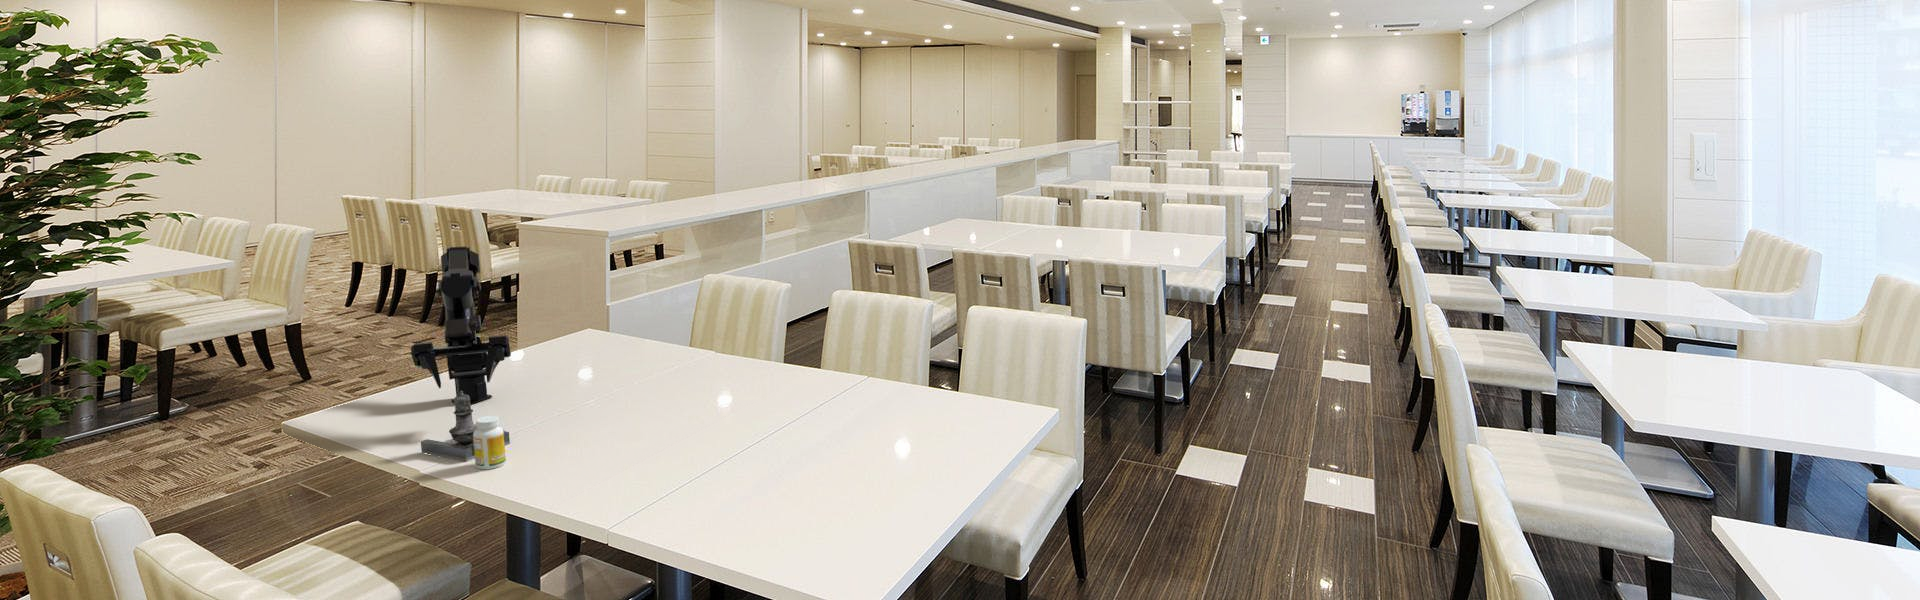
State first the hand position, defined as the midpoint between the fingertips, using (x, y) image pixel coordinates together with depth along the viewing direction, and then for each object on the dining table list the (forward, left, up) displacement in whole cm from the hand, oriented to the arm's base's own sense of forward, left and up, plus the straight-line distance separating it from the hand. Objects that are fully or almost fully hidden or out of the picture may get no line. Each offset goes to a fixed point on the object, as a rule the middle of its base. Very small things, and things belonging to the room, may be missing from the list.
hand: (464, 384), depth 195 cm
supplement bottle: (+18, -11, -12) cm, 24 cm away
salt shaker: (+6, -6, -11) cm, 14 cm away
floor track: (+6, -6, -11) cm, 14 cm away
